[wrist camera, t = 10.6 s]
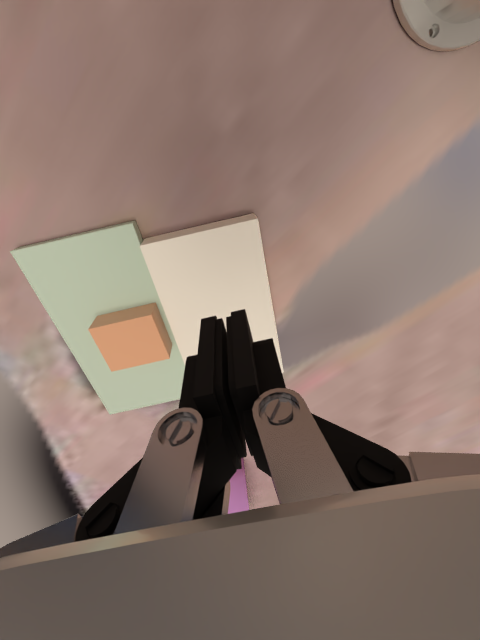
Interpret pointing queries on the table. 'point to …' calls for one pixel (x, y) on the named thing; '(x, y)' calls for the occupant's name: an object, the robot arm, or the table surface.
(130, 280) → the sage mat
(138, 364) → the terracotta tile
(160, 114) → the table surface
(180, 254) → the plate
